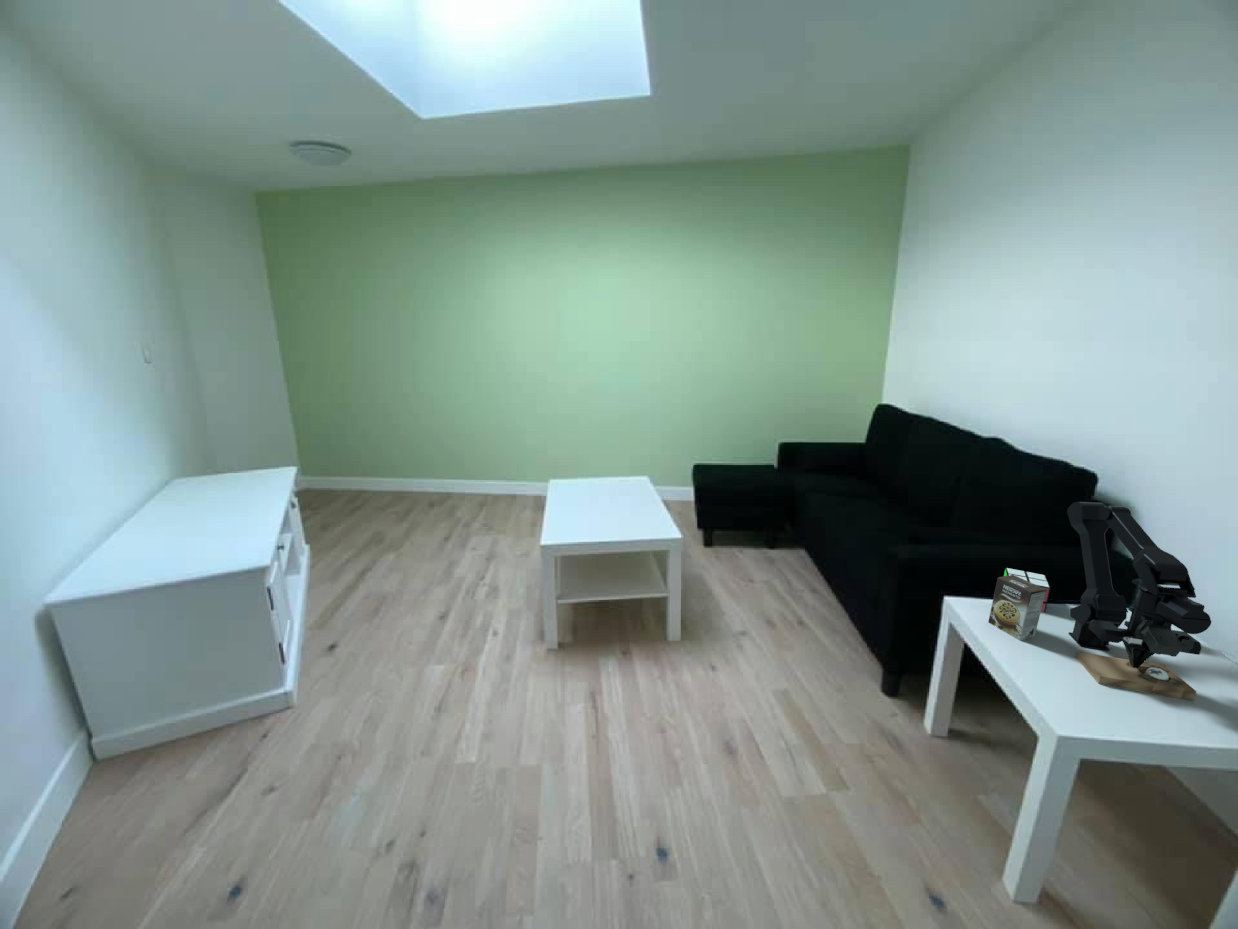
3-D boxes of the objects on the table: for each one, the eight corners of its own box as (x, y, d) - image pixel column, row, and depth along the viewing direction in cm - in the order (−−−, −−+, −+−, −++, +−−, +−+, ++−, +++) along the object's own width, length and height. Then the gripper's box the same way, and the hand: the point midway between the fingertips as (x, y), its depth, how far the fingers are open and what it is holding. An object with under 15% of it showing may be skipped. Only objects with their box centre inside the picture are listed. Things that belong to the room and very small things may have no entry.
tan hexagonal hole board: (1097, 685, 120) (1100, 676, 120) (1074, 660, 129) (1076, 652, 129) (1193, 700, 115) (1196, 691, 114) (1162, 673, 124) (1164, 664, 124)
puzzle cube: (1044, 618, 149) (1051, 588, 147) (1002, 609, 154) (1008, 579, 152) (1038, 603, 157) (1045, 574, 155) (999, 595, 162) (1005, 567, 160)
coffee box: (985, 627, 144) (996, 576, 140) (1001, 623, 146) (1012, 573, 142) (1018, 645, 136) (1030, 592, 132) (1035, 641, 138) (1047, 588, 134)
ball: (1159, 671, 118) (1177, 679, 117) (1147, 661, 122) (1165, 669, 121) (1147, 683, 119) (1166, 692, 119) (1136, 673, 123) (1154, 681, 122)
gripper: (1123, 621, 113) (1106, 680, 117) (1231, 635, 107) (1210, 697, 111) (1094, 597, 123) (1080, 652, 127) (1191, 609, 118) (1173, 666, 122)
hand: (1134, 667), depth 121 cm, fingers closed
